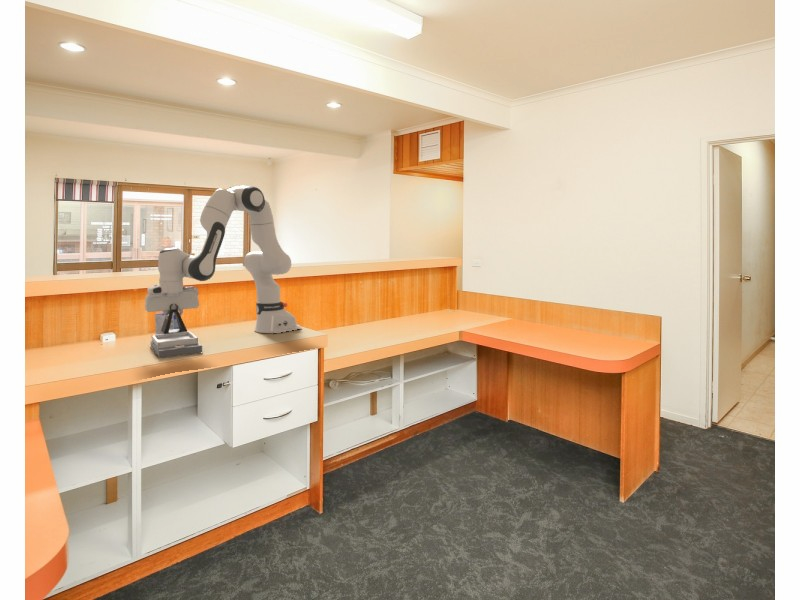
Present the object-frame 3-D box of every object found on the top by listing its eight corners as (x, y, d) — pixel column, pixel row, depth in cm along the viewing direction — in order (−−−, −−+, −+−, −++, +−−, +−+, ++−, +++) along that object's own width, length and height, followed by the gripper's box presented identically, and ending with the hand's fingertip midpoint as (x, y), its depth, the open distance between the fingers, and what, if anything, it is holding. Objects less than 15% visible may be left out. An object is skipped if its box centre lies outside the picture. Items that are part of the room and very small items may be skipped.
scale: (191, 342, 217) (190, 330, 216) (202, 352, 200) (201, 339, 200) (150, 347, 207) (150, 335, 207) (159, 358, 191) (158, 344, 190)
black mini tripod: (163, 334, 199) (161, 305, 197) (161, 331, 204) (159, 303, 202) (187, 331, 204) (185, 303, 203) (184, 329, 209) (182, 301, 207)
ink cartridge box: (183, 339, 222) (181, 308, 220) (175, 342, 217) (173, 310, 215) (163, 338, 224) (161, 307, 222) (155, 341, 219) (153, 309, 217)
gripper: (196, 285, 210) (198, 316, 212) (143, 288, 198) (145, 321, 200) (199, 286, 205) (201, 319, 207) (145, 290, 193) (147, 324, 195)
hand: (173, 320), depth 204 cm, fingers closed on black mini tripod, 2 cm apart
